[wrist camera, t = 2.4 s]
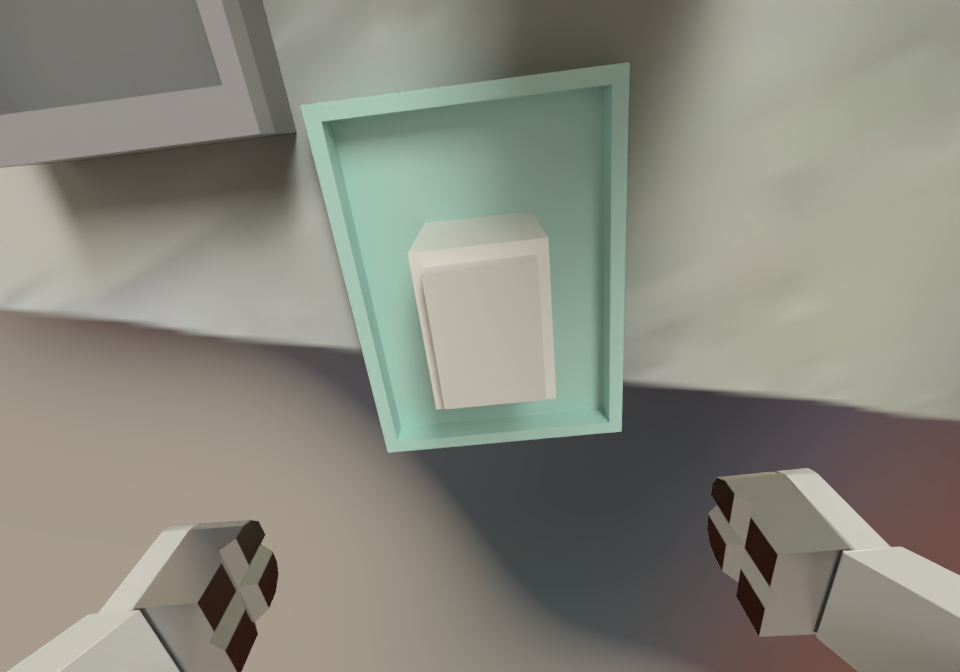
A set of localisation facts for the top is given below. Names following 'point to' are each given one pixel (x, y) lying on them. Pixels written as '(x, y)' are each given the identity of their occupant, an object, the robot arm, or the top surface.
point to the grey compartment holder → (134, 77)
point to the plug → (485, 309)
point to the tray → (474, 193)
